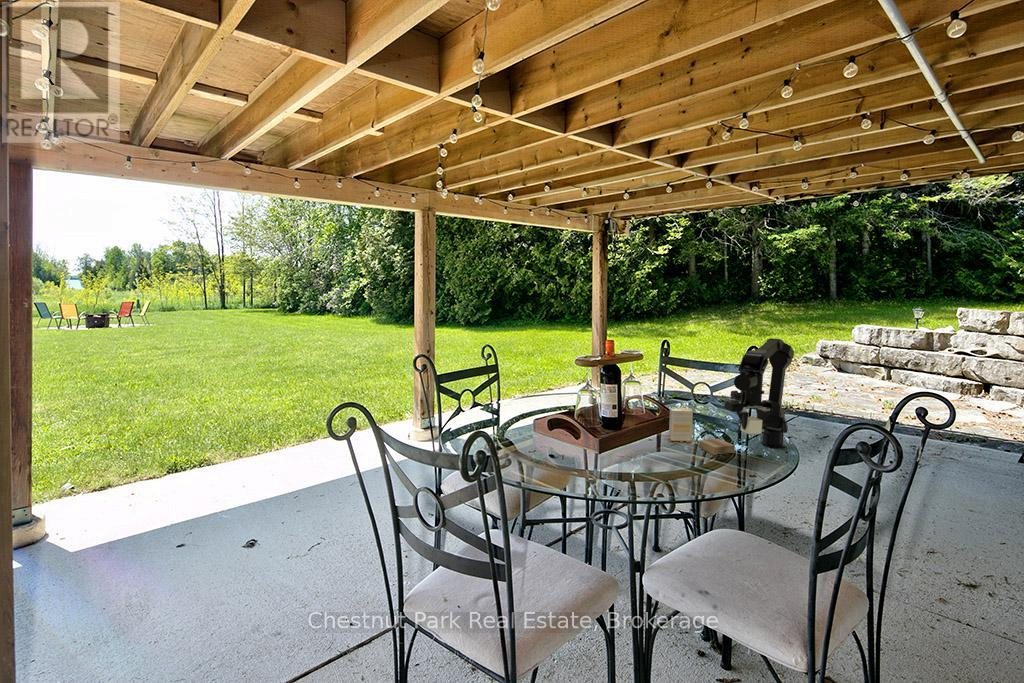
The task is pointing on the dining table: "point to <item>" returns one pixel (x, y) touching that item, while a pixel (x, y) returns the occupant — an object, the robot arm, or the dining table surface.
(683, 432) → the supplement box
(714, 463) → the dining table surface
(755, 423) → the cube
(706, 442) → the walnut block
